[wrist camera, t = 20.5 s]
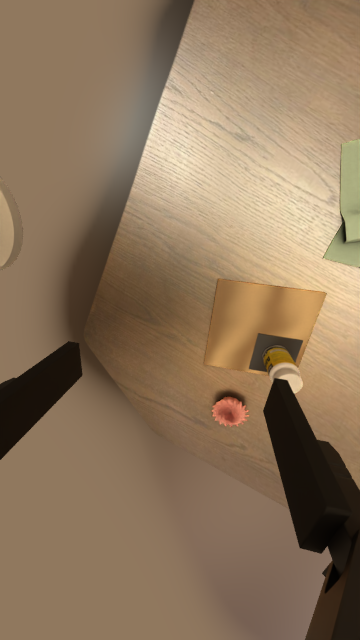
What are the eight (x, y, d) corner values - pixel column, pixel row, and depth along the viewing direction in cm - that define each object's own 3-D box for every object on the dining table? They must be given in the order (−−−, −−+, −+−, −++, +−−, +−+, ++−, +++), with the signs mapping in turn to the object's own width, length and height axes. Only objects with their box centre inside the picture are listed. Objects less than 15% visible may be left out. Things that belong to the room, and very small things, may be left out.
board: (203, 362, 44) (203, 365, 43) (217, 278, 37) (217, 279, 36) (292, 377, 42) (293, 381, 41) (324, 292, 35) (327, 293, 34)
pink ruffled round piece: (214, 414, 49) (213, 435, 44) (209, 387, 46) (207, 406, 41) (248, 414, 47) (252, 435, 42) (245, 385, 44) (249, 405, 39)
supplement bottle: (260, 346, 39) (271, 373, 31) (287, 342, 38) (305, 369, 30) (263, 367, 41) (274, 397, 33) (289, 364, 39) (306, 395, 32)
